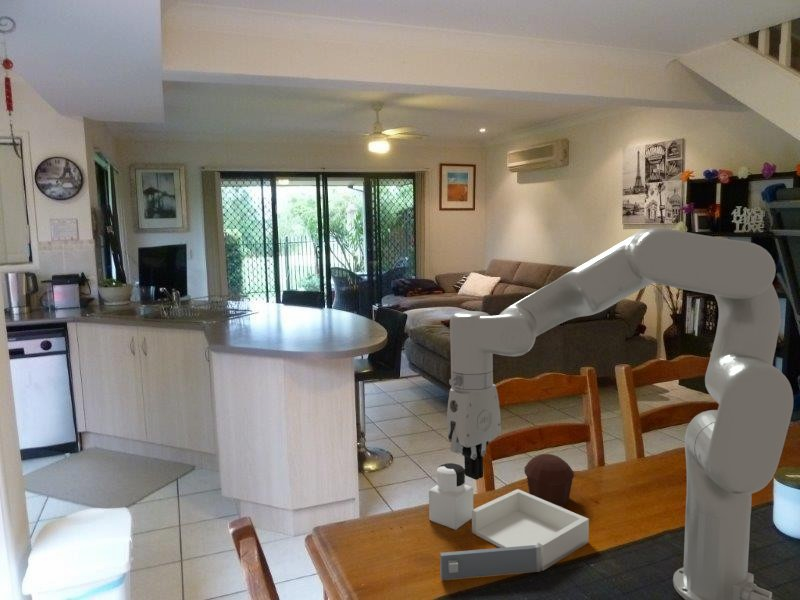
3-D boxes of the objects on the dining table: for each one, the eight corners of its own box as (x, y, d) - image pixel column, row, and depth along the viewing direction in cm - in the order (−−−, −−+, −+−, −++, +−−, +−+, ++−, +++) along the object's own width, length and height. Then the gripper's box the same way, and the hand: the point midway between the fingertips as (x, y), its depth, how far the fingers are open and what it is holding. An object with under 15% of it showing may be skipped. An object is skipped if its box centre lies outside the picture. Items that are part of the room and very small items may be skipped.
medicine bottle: (447, 508, 129) (446, 457, 128) (473, 517, 125) (473, 465, 123) (428, 520, 124) (427, 468, 122) (455, 530, 119) (455, 476, 118)
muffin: (583, 507, 128) (583, 465, 127) (537, 513, 126) (537, 470, 125) (558, 485, 140) (558, 446, 139) (516, 489, 138) (516, 450, 137)
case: (588, 542, 114) (588, 518, 113) (542, 570, 104) (542, 545, 104) (517, 510, 128) (517, 488, 127) (472, 532, 118) (471, 509, 118)
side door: (539, 567, 105) (539, 544, 104) (543, 575, 102) (544, 551, 102) (440, 576, 103) (440, 552, 102) (442, 584, 100) (442, 559, 100)
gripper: (457, 391, 95) (460, 495, 97) (514, 375, 105) (515, 471, 107) (427, 383, 101) (430, 482, 103) (484, 369, 110) (485, 459, 112)
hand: (473, 476), depth 105 cm, fingers closed
